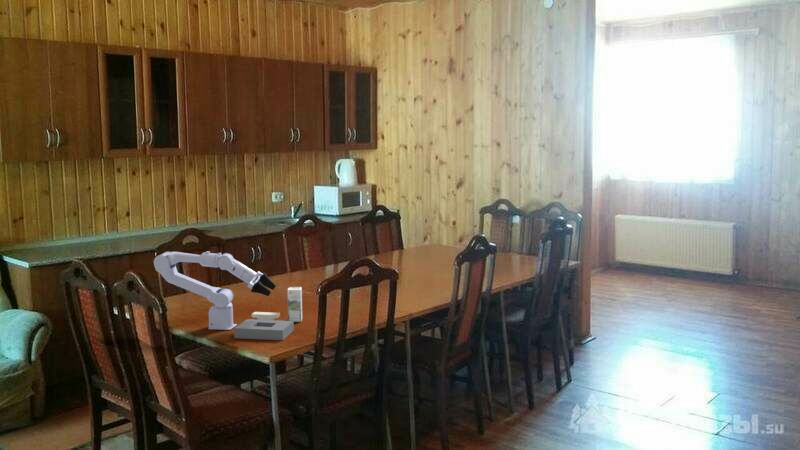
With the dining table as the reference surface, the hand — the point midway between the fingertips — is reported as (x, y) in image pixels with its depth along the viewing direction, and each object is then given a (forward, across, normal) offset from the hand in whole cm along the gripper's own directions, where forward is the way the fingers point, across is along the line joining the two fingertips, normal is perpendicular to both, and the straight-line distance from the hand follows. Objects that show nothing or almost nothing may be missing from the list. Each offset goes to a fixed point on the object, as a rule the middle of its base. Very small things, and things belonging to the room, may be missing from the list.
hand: (272, 290), depth 301 cm
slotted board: (+7, -12, +12) cm, 19 cm away
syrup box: (+15, +10, +11) cm, 21 cm away
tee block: (+5, +1, +16) cm, 17 cm away
